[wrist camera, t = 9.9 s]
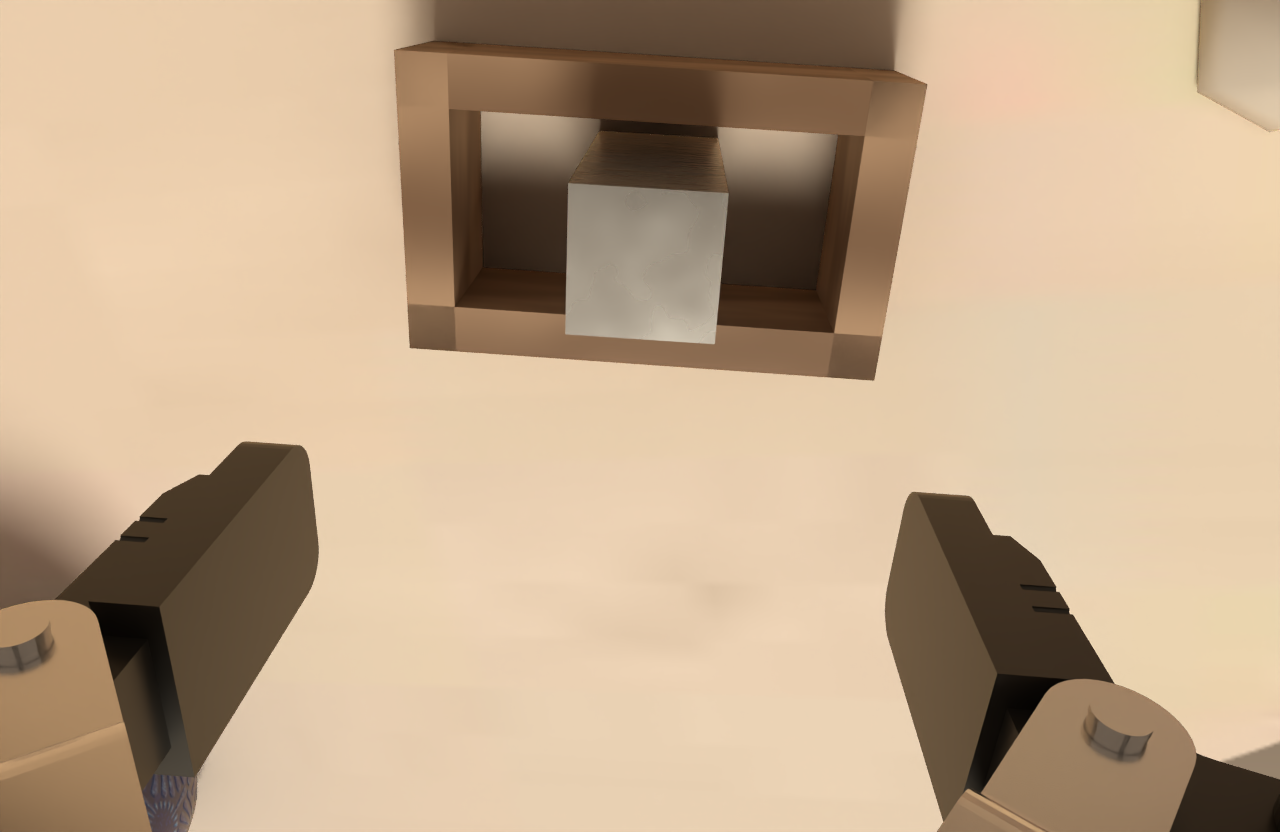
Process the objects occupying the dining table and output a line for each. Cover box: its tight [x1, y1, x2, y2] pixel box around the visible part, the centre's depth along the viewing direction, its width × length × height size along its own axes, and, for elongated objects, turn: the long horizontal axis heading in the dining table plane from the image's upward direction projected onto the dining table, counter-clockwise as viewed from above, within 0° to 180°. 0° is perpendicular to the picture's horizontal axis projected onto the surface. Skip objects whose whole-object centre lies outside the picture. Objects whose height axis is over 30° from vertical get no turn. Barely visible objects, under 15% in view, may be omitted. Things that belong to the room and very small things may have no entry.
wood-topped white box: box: [565, 131, 729, 344], centre depth 28 cm, size 4×4×9 cm
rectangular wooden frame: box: [394, 41, 927, 380], centre depth 30 cm, size 9×15×4 cm, turn 87°
